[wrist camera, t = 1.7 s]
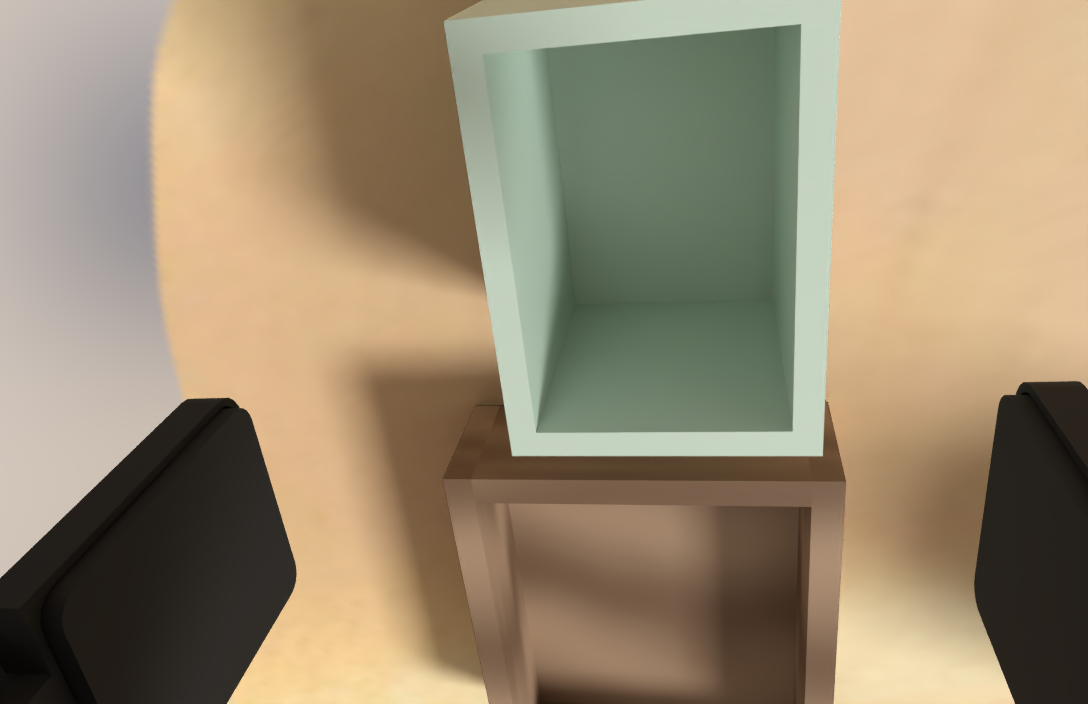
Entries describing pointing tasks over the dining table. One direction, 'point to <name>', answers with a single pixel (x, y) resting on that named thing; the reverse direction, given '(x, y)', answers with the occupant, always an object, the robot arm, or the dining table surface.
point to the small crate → (654, 218)
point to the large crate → (649, 572)
